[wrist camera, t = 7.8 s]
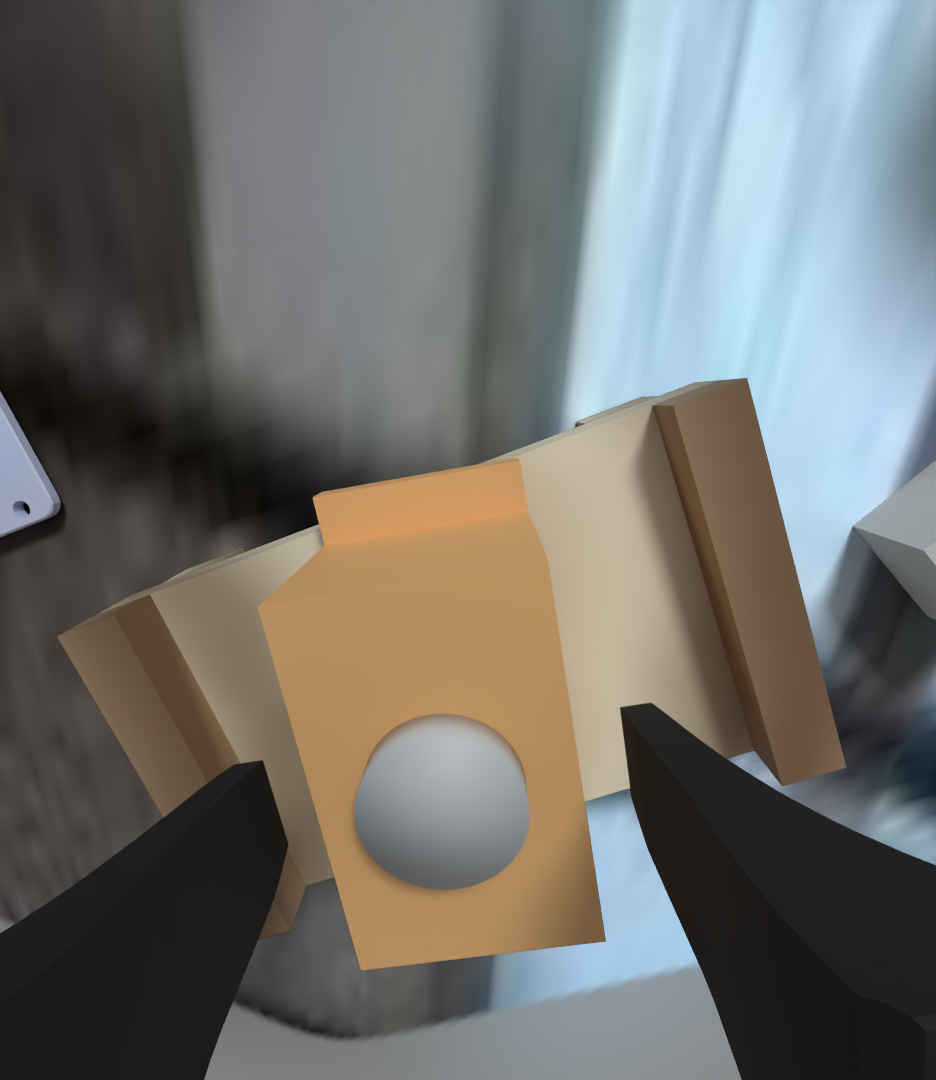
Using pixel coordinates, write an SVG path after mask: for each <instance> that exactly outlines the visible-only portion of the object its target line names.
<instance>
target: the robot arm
mask: <svg viewBox="0 0 936 1080" xmlns="http://www.w3.org/2000/svg"><path fill="white" fill-rule="evenodd" d="M24 502H26V503H27V504H28V506H29V508H30V514H28V513H27V512H26V511H25V510H24V507H23V504H24ZM59 510H60V499H59V496H58V494H57V493H56V491H55V489H54V487H53V485H52V484H51V482H50V480H49V478H48V476H47V475H46V473H45V471H44V469H43V467H42V466H41V464H40V462H39V460H38V458H37V457H36V455H35V453H34V451H33V449H32V447H31V446H30V444H29V442H28V440H27V438H26V437H25V435H24V433H23V431H22V429H21V428H20V426H19V424H18V422H17V420H16V419H15V417H14V415H13V413H12V411H11V410H10V408H9V406H8V404H7V402H6V401H5V399H4V397H3V395H2V393H1V392H0V538H1V537H3V536H6V535H8V534H11V533H13V532H16V531H18V530H21V529H23V528H26V527H28V526H31V525H33V524H36V523H38V522H41V521H43V520H46V519H48V518H50V517H53V516H54V515H56V514H57V513H58V511H59ZM620 712H621V720H622V728H623V736H624V744H625V751H626V759H627V767H628V775H629V783H630V790H631V798H632V801H633V804H634V807H635V810H636V814H637V817H638V820H639V823H640V826H641V830H642V833H643V836H644V839H645V842H646V845H647V848H648V850H649V853H650V855H651V857H652V860H653V862H654V864H655V866H656V869H657V871H658V873H659V875H660V878H661V880H662V882H663V884H664V887H665V889H666V891H667V894H668V896H669V898H670V900H671V902H672V905H673V907H674V909H675V911H676V914H677V916H678V918H679V920H680V923H681V925H682V927H683V929H684V932H685V934H686V936H687V938H688V941H689V943H690V945H691V947H692V950H693V952H694V954H695V956H696V959H697V961H698V963H699V965H700V967H701V970H702V972H703V975H704V977H705V980H706V982H707V984H708V987H709V989H710V992H711V994H712V997H713V999H714V1002H715V1004H716V1007H717V1010H718V1013H719V1016H720V1019H721V1022H722V1024H723V1027H724V1030H725V1033H726V1036H727V1039H728V1042H729V1045H730V1047H731V1050H732V1053H733V1056H734V1059H735V1061H736V1065H737V1067H738V1070H739V1073H740V1076H741V1079H742V1080H936V865H933V864H931V863H928V862H926V861H923V860H921V859H918V858H916V857H913V856H911V855H908V854H906V853H903V852H901V851H899V850H896V849H894V848H892V847H890V846H887V845H885V844H883V843H880V842H878V841H876V840H874V839H871V838H869V837H867V836H864V835H862V834H860V833H858V832H855V831H853V830H851V829H849V828H847V827H845V826H843V825H841V824H839V823H837V822H835V821H833V820H830V819H829V818H827V817H825V816H823V815H821V814H819V813H817V812H815V811H813V810H811V809H810V808H808V807H806V806H804V805H802V804H800V803H798V802H796V801H794V800H792V799H791V798H789V797H787V796H785V795H784V794H782V793H780V792H778V791H777V790H775V789H773V788H772V787H770V786H768V785H767V784H765V783H764V782H762V781H760V780H759V779H757V778H755V777H754V776H752V775H751V774H749V773H747V772H746V771H744V770H743V769H741V768H740V767H738V766H737V765H735V764H734V763H732V762H731V761H729V760H728V759H726V758H725V757H723V756H722V755H721V754H719V753H718V752H716V751H715V750H713V749H712V748H711V747H709V746H708V745H707V744H705V743H704V742H702V741H701V740H700V739H698V738H697V737H696V736H694V735H693V734H692V733H690V732H689V731H688V730H687V729H685V728H684V727H683V726H681V725H680V724H679V723H677V722H676V721H675V720H674V719H672V718H671V717H670V716H669V715H667V714H666V713H665V712H663V711H662V710H661V709H659V708H658V707H657V706H655V705H654V704H653V703H645V704H638V705H631V706H625V707H620ZM288 845H289V844H288V841H287V838H286V834H285V831H284V828H283V824H282V821H281V818H280V815H279V811H278V808H277V805H276V801H275V798H274V795H273V792H272V788H271V785H270V782H269V778H268V775H267V772H266V769H265V765H264V762H263V760H260V761H253V762H247V763H240V764H234V765H232V766H231V767H229V768H228V769H226V770H225V771H223V772H222V773H220V774H219V775H218V776H216V777H215V778H214V779H212V780H211V781H210V782H208V783H207V784H206V785H204V786H203V787H202V788H200V789H199V790H198V791H197V792H195V793H194V794H193V795H192V796H190V797H189V798H188V799H187V800H185V801H184V802H183V803H181V804H180V805H179V806H178V807H176V808H175V809H174V810H173V811H171V812H170V813H169V814H168V815H166V816H165V817H164V818H162V819H161V820H160V821H159V822H157V823H156V824H155V825H154V826H152V827H151V828H150V829H149V830H147V831H146V832H145V833H144V834H142V835H141V836H140V837H138V838H137V839H136V840H134V841H133V842H132V843H130V844H129V845H128V846H126V847H125V848H124V849H122V850H121V851H120V852H118V853H117V854H116V855H114V856H113V857H112V858H110V859H109V860H108V861H106V862H105V863H104V864H102V865H101V866H100V867H98V868H97V869H95V870H94V871H93V872H91V873H90V874H89V875H87V876H86V877H85V878H83V879H82V880H80V881H79V882H78V883H76V884H75V885H73V886H72V887H71V888H69V889H68V890H66V891H65V892H63V893H62V894H60V895H59V896H57V897H56V898H54V899H53V900H52V901H50V902H48V903H47V904H45V905H44V906H42V907H41V908H39V909H38V910H36V911H35V912H33V913H32V914H30V915H29V916H27V917H25V918H24V919H22V920H21V921H19V922H18V923H16V924H15V925H13V926H11V927H10V928H8V929H7V930H5V931H4V932H2V933H0V1080H204V1078H205V1075H206V1072H207V1069H208V1065H209V1063H210V1059H211V1057H212V1054H213V1051H214V1049H215V1046H216V1043H217V1040H218V1038H219V1035H220V1032H221V1030H222V1027H223V1024H224V1022H225V1019H226V1017H227V1015H228V1012H229V1010H230V1007H231V1005H232V1002H233V1000H234V997H235V995H236V993H237V990H238V988H239V985H240V983H241V980H242V978H243V975H244V973H245V970H246V968H247V966H248V963H249V961H250V958H251V956H252V953H253V951H254V948H255V946H256V943H257V941H258V939H259V936H260V933H261V931H262V928H263V926H264V923H265V921H266V918H267V916H268V913H269V911H270V908H271V906H272V903H273V900H274V898H275V894H276V891H277V887H278V884H279V880H280V877H281V873H282V869H283V865H284V861H285V857H286V853H287V849H288Z"/></svg>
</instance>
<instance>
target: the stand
mask: <svg viewBox="0 0 936 1080" xmlns="http://www.w3.org/2000/svg"><path fill="white" fill-rule="evenodd" d="M577 425H578V427H576V428H573V429H570V430H568V431H565V432H562V433H560V434H557V435H554V436H552V437H549V438H546V439H544V440H541V441H539V442H536V443H533V444H531V445H528V446H525V447H523V448H520V449H517V450H515V451H512V452H509V453H507V454H504V455H501V456H499V457H496V458H494V459H491V460H488V461H486V462H483V463H489V462H494V461H500V460H506V459H511V458H517V457H518V458H519V460H520V464H521V470H522V476H523V483H524V489H525V496H526V502H527V508H528V512H529V515H530V517H531V519H532V522H533V524H534V527H535V529H536V531H537V534H538V536H539V539H540V541H541V543H542V546H543V548H544V551H545V553H546V555H547V558H548V562H549V569H550V576H551V582H552V589H553V595H554V602H555V609H556V615H557V622H558V628H559V635H560V642H561V648H562V655H563V661H564V668H565V675H566V681H567V688H568V694H569V701H570V708H571V714H572V721H573V728H574V734H575V741H576V747H577V754H578V761H579V767H580V774H581V780H582V787H583V794H584V800H585V801H588V800H592V799H595V798H598V797H602V796H605V795H608V794H612V793H615V792H618V791H622V790H625V789H628V788H630V783H629V775H628V767H627V759H626V751H625V744H624V736H623V728H622V720H621V712H620V707H625V706H631V705H638V704H645V703H653V704H654V705H655V706H657V707H658V708H659V709H661V710H662V711H663V712H665V713H666V714H667V715H669V716H670V717H671V718H672V719H674V720H675V721H676V722H677V723H679V724H680V725H681V726H683V727H684V728H685V729H687V730H688V731H689V732H690V733H692V734H693V735H694V736H696V737H697V738H698V739H700V740H701V741H702V742H704V743H705V744H707V745H708V746H709V747H711V748H712V749H713V750H715V751H716V752H718V753H719V754H721V755H722V756H723V757H725V758H726V759H728V758H731V757H734V756H737V755H741V754H744V753H747V752H751V751H755V752H756V753H757V754H758V756H759V757H760V758H761V760H762V761H763V762H764V763H765V765H766V766H767V767H768V769H769V770H770V771H771V772H772V774H773V775H774V776H775V778H776V779H777V780H778V781H779V783H780V784H781V785H782V786H785V785H788V784H792V783H795V782H799V781H802V780H805V779H809V778H812V777H816V776H819V775H822V774H826V773H829V772H833V771H836V770H839V769H843V768H846V765H845V761H844V757H843V753H842V750H841V746H840V742H839V738H838V734H837V730H836V726H835V722H834V718H833V714H832V710H831V706H830V702H829V698H828V694H827V691H826V687H825V683H824V679H823V675H822V671H821V667H820V663H819V659H818V655H817V651H816V647H815V643H814V639H813V635H812V632H811V628H810V624H809V620H808V616H807V612H806V608H805V604H804V600H803V596H802V592H801V588H800V584H799V580H798V576H797V573H796V569H795V565H794V561H793V557H792V553H791V549H790V545H789V541H788V537H787V533H786V529H785V525H784V521H783V517H782V514H781V510H780V506H779V502H778V498H777V494H776V490H775V486H774V482H773V478H772V474H771V470H770V466H769V462H768V458H767V455H766V451H765V447H764V443H763V439H762V435H761V431H760V427H759V423H758V419H757V415H756V411H755V407H754V403H753V399H752V396H751V392H750V388H749V384H748V380H747V378H742V379H731V380H719V381H707V382H695V383H692V384H690V385H687V386H684V387H682V388H679V389H676V390H674V391H671V392H668V393H666V394H663V395H660V396H656V397H640V398H638V399H635V400H632V401H630V402H627V403H625V404H622V405H619V406H617V407H614V408H611V409H609V410H606V411H603V412H601V413H598V414H595V415H593V416H590V417H588V418H585V419H582V420H580V421H577ZM483 463H480V464H483ZM323 546H324V541H323V537H322V533H321V529H320V525H316V526H313V527H311V528H308V529H305V530H303V531H300V532H298V533H295V534H292V535H290V536H287V537H284V538H282V539H279V540H276V541H274V542H271V543H268V544H266V545H263V546H260V547H258V548H255V549H252V550H250V551H247V552H245V550H244V548H242V549H239V550H236V551H234V552H231V553H228V554H226V555H223V556H220V557H218V558H215V559H213V560H210V561H207V562H205V563H202V564H199V565H197V566H194V567H191V568H189V569H187V570H185V571H183V572H181V573H180V574H178V575H176V576H174V577H173V578H171V579H169V580H167V581H166V582H164V583H162V584H160V585H157V586H154V587H152V588H149V589H147V590H144V591H141V592H139V593H136V594H133V595H131V596H129V597H127V598H126V599H124V600H122V601H120V602H118V603H117V604H115V605H113V606H111V607H109V608H108V609H106V610H104V611H102V612H100V613H99V614H97V615H95V616H93V617H91V618H90V619H88V620H86V621H84V622H82V623H81V624H79V625H77V626H75V627H73V628H72V629H70V630H68V631H66V632H64V633H63V634H61V635H59V636H57V637H58V639H59V640H60V642H61V644H62V646H63V647H64V649H65V651H66V652H67V654H68V656H69V657H70V659H71V661H72V663H73V664H74V666H75V668H76V669H77V671H78V673H79V674H80V676H81V678H82V680H83V681H84V683H85V685H86V686H87V688H88V690H89V691H90V693H91V695H92V696H93V698H94V700H95V702H96V703H97V705H98V707H99V708H100V710H101V712H102V713H103V715H104V717H105V719H106V720H107V722H108V724H109V725H110V727H111V729H112V730H113V732H114V734H115V736H116V737H117V739H118V741H119V742H120V744H121V746H122V747H123V749H124V751H125V753H126V754H127V756H128V758H129V759H130V761H131V763H132V764H133V766H134V768H135V769H136V771H137V773H138V775H139V776H140V778H141V780H142V781H143V783H144V785H145V786H146V788H147V790H148V792H149V793H150V795H151V797H152V798H153V800H154V802H155V803H156V805H157V807H158V809H159V810H160V812H161V814H162V815H163V817H165V816H166V815H168V814H169V813H170V812H171V811H173V810H174V809H175V808H176V807H178V806H179V805H180V804H181V803H183V802H184V801H185V800H187V799H188V798H189V797H190V796H192V795H193V794H194V793H195V792H197V791H198V790H199V789H200V788H202V787H203V786H204V785H206V784H207V783H208V782H210V781H211V780H212V779H214V778H215V777H216V776H218V775H219V774H220V773H222V772H223V771H225V770H226V769H228V768H229V767H231V766H232V765H234V764H240V763H247V762H253V761H260V760H263V762H264V765H265V769H266V772H267V775H268V778H269V782H270V785H271V788H272V792H273V795H274V798H275V801H276V805H277V808H278V811H279V815H280V818H281V821H282V824H283V828H284V831H285V834H286V838H287V841H288V844H289V845H288V849H287V853H286V857H285V861H284V865H283V869H282V873H281V877H280V880H279V884H278V887H277V891H276V894H275V898H274V900H273V903H272V906H271V908H270V911H269V913H268V916H267V918H266V921H265V923H264V926H263V928H262V931H261V933H260V936H259V939H258V940H260V939H264V938H267V937H270V936H274V935H277V934H281V933H284V932H288V931H290V930H291V927H292V925H293V922H294V919H295V916H296V914H297V911H298V908H299V905H300V903H301V900H302V897H303V894H304V892H305V889H306V886H307V885H310V884H314V883H317V882H320V881H324V880H327V879H330V878H334V873H333V870H332V866H331V863H330V859H329V856H328V852H327V849H326V845H325V842H324V838H323V835H322V831H321V828H320V824H319V821H318V817H317V814H316V810H315V807H314V803H313V800H312V796H311V793H310V789H309V786H308V782H307V778H306V775H305V771H304V768H303V764H302V761H301V757H300V754H299V750H298V747H297V743H296V740H295V736H294V733H293V729H292V726H291V722H290V719H289V715H288V712H287V708H286V705H285V701H284V698H283V694H282V691H281V687H280V684H279V680H278V676H277V673H276V669H275V666H274V662H273V659H272V655H271V652H270V648H269V645H268V641H267V638H266V634H265V631H264V627H263V624H262V620H261V617H260V613H259V610H258V606H259V605H260V604H261V603H262V602H264V601H265V600H266V599H267V598H268V597H269V596H270V595H271V594H272V593H273V592H274V591H275V590H277V589H278V588H279V587H280V586H281V585H282V584H283V583H284V582H285V581H286V580H287V579H288V578H290V577H291V576H292V575H293V574H294V573H295V572H296V571H297V570H298V569H299V568H300V567H302V566H303V565H304V564H305V563H306V562H307V561H308V560H309V559H310V558H311V557H312V556H313V555H315V554H316V553H317V552H318V551H319V550H320V549H321V548H322V547H323Z"/></svg>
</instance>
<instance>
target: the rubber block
mask: <svg viewBox="0 0 936 1080" xmlns="http://www.w3.org/2000/svg"><path fill="white" fill-rule="evenodd" d="M853 527H854V528H855V530H856V531H857V532H858V533H859V535H860V536H861V537H862V538H863V539H864V541H865V542H866V543H867V544H868V545H869V547H870V548H871V549H872V550H873V551H874V553H875V554H876V555H877V556H878V557H879V559H880V560H881V561H882V562H883V564H884V565H885V566H886V567H887V568H888V570H889V571H890V572H891V573H892V574H893V576H894V577H895V578H896V579H897V580H898V582H899V583H900V584H901V585H902V587H903V588H904V589H905V590H906V591H907V593H908V594H909V595H910V596H911V597H912V599H913V600H914V601H915V602H916V603H917V605H918V606H919V607H920V608H921V610H922V611H923V612H924V613H925V614H926V616H928V617H930V618H932V619H934V620H936V460H935V461H934V462H933V463H932V464H930V465H929V466H928V467H927V468H925V469H924V470H923V471H921V472H920V473H919V474H918V475H916V476H915V477H914V478H913V479H911V480H910V481H909V482H908V483H906V484H905V485H904V486H903V487H901V488H900V489H899V490H898V491H896V492H895V493H894V494H893V495H891V496H890V497H889V498H888V499H886V500H885V501H884V502H882V503H881V504H880V505H879V506H877V507H876V508H875V509H874V510H872V511H871V512H870V513H869V514H867V515H866V516H865V517H864V518H862V519H861V520H860V521H859V522H857V523H856V524H855V525H854V526H853Z"/></svg>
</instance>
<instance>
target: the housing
mask: <svg viewBox="0 0 936 1080" xmlns="http://www.w3.org/2000/svg"><path fill="white" fill-rule="evenodd" d="M313 501H314V505H315V509H316V513H317V517H318V521H319V525H320V529H321V533H322V537H323V541H324V546H323V547H322V548H321V549H320V550H319V551H318V552H317V553H316V554H315V555H313V556H312V557H311V558H310V559H309V560H308V561H307V562H306V563H305V564H304V565H303V566H302V567H300V568H299V569H298V570H297V571H296V572H295V573H294V574H293V575H292V576H291V577H290V578H288V579H287V580H286V581H285V582H284V583H283V584H282V585H281V586H280V587H279V588H278V589H277V590H275V591H274V592H273V593H272V594H271V595H270V596H269V597H268V598H267V599H266V600H265V601H264V602H262V603H261V604H260V605H259V606H258V610H259V613H260V617H261V620H262V624H263V627H264V631H265V634H266V638H267V641H268V645H269V648H270V652H271V655H272V659H273V662H274V666H275V669H276V673H277V676H278V680H279V684H280V687H281V691H282V694H283V698H284V701H285V705H286V708H287V712H288V715H289V719H290V722H291V726H292V729H293V733H294V736H295V740H296V743H297V747H298V750H299V754H300V757H301V761H302V764H303V768H304V771H305V775H306V778H307V782H308V786H309V789H310V793H311V796H312V800H313V803H314V807H315V810H316V814H317V817H318V821H319V824H320V828H321V831H322V835H323V838H324V842H325V845H326V849H327V852H328V856H329V859H330V863H331V866H332V870H333V873H334V877H335V880H336V884H337V887H338V891H339V895H340V898H341V902H342V905H343V909H344V912H345V916H346V919H347V923H348V926H349V930H350V933H351V937H352V940H353V944H354V947H355V951H356V954H357V958H358V961H359V965H360V968H361V970H369V969H378V968H386V967H394V966H403V965H411V964H420V963H428V962H436V961H445V960H453V959H462V958H470V957H479V956H487V955H495V954H504V953H512V952H521V951H529V950H537V949H546V948H554V947H563V946H571V945H579V944H588V943H596V942H605V941H606V939H605V932H604V926H603V919H602V912H601V906H600V899H599V893H598V886H597V879H596V873H595V866H594V860H593V853H592V846H591V840H590V833H589V827H588V820H587V813H586V807H585V800H584V794H583V787H582V780H581V774H580V767H579V761H578V754H577V747H576V741H575V734H574V728H573V721H572V714H571V708H570V701H569V694H568V688H567V681H566V675H565V668H564V661H563V655H562V648H561V642H560V635H559V628H558V622H557V615H556V609H555V602H554V595H553V589H552V582H551V576H550V569H549V562H548V558H547V555H546V553H545V551H544V548H543V546H542V543H541V541H540V539H539V536H538V534H537V531H536V529H535V527H534V524H533V522H532V519H531V517H530V515H529V512H528V508H527V502H526V496H525V489H524V483H523V476H522V470H521V464H520V460H519V458H518V457H517V458H511V459H506V460H500V461H494V462H489V463H483V464H478V465H472V466H466V467H461V468H455V469H449V470H444V471H438V472H432V473H427V474H421V475H415V476H410V477H404V478H399V479H393V480H387V481H382V482H376V483H370V484H365V485H359V486H353V487H348V488H342V489H337V490H331V491H325V492H321V493H319V494H318V495H316V496H314V497H313Z"/></svg>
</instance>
